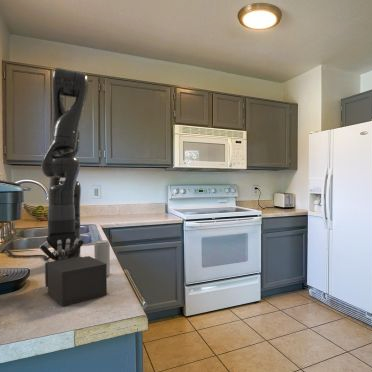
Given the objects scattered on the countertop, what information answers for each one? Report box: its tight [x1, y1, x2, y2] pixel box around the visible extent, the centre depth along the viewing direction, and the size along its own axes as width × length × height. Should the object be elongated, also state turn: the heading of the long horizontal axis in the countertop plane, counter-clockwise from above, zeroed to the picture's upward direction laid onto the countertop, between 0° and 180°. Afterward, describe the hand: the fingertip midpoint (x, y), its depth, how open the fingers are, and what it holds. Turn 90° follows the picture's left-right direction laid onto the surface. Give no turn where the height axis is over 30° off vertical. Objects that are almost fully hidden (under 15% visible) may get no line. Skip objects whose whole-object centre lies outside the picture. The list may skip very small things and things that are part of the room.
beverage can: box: [93, 239, 111, 277], centre depth 110 cm, size 5×5×12 cm
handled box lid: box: [44, 256, 82, 288], centre depth 97 cm, size 17×10×7 cm, turn 47°
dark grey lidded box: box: [47, 255, 108, 307], centre depth 92 cm, size 14×12×9 cm
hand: (62, 271), depth 102 cm, fingers closed
